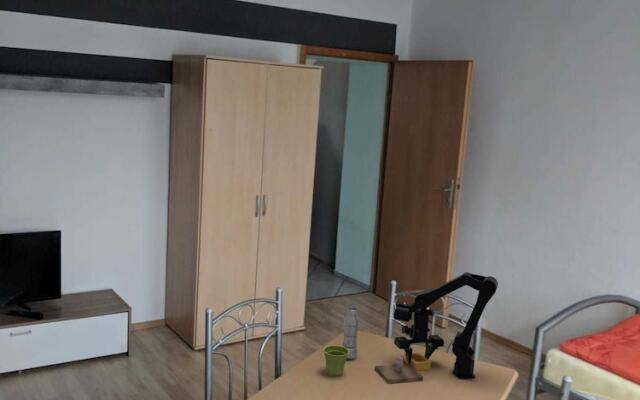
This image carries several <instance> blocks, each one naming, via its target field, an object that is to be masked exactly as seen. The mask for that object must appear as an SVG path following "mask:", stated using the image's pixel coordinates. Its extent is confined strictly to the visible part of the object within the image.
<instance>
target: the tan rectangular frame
mask: <svg viewBox="0 0 640 400" xmlns="http://www.w3.org/2000/svg"><path fill="white" fill-rule="evenodd" d="M403 362H404V363H405V364H408V361H407V357H406V353H405V354H404V359H403ZM431 363H432V362H431V361H430V360H429V359H427V358H425V355H423V354H422V353H421V352H414V353H413V352H412V358H411V362H410V365H411V366H412V367H413V368H414V369H415V370H416V371H417V372H418V371H431Z"/></svg>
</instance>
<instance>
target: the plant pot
mask: <svg viewBox="0 0 640 400" xmlns="http://www.w3.org/2000/svg"><path fill="white" fill-rule="evenodd" d="M323 353H324V357H325V358H324V359H325V368H326V370H325V371H326V373H327V374H328V375H329V376H335V377H338V376H342V375H343V374H344V370H345V366H346V361H347V359H346V358H347V356H348V354H349V350H348V349H347V348H345V347H342V345H327V346H325V347H324V348H323Z"/></svg>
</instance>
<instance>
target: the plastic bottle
mask: <svg viewBox="0 0 640 400" xmlns="http://www.w3.org/2000/svg"><path fill="white" fill-rule="evenodd" d="M357 315H358V308H357V307H354V306H350V307H347V314H346V315H345V317H344V319H343V324H342V325H343V338H342V345H341V346H342V347H345V348H347V349H348V350H349V354H348V356H347V358H346V360H354V359H355V358H356V357H357V356H358V334H359V328H360V324H361V323H360V322H361V321H360V318H359V316H357Z"/></svg>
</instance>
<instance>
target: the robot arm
mask: <svg viewBox="0 0 640 400" xmlns="http://www.w3.org/2000/svg"><path fill="white" fill-rule="evenodd" d="M464 286H466V287H467V286H468V287H470V288H471V289H474V290H475V291H478V295H477V299H476V302H475V304H474V306H473V309H472V311H471V313H470V316H469V317H468V320H467V321H466V324H465V326H464V328H463V330H462V331H461V332H460V331H459V330H458V331H457V333H456V334H455V337H454V339H453V341H452V343H451V346H452V348H451V351H452V354H453V355H454V356H455V362H454V365H453V370H452V371H451V372H452V374H454V375H455V376H456V377H457V378H458V379H462V380H463V379H464V380H466V379H473V378H476V375H475V374H474V370H475V369H474V368H475V359H474V357H475V354H476V351H475V350H474V349H473V348H472V346H471V343H472V338H473V335H474V331H475V330H476V328H477V326H478V323H479V321H480V319H481V316H482V315H483V312H484V310H485V308H486V306H487V305H488V303H489V302H490V300H491V299H492V298H493V296H494V295H495V293H496V291H497V289H498V287H499V283H498V280H497V279H496V278H495V277H494V276H491V275H490V276H489V275H488V276H484V275H481V274H474V273H470V272H467V271H466V272H463V273H462V274H460V275H458V276H457V277H455V278H452V279H451V280H449V281H446V282H445V283H443V284H441V285H439V286H437V287H434V288H428V289H427V288H426V289H425V290H422V291H420V292H419V293H418V294H417V295H416V296H415V298H414V301H413V302H412V303H411V304H408V303H407V304H406V303H403V302H397V303H396V305H395V306H396V307H395V309H394V313H393V320H395V321H400V322H405V323H410V321H413V323H412V324H411V326H410V327H409V325H408V324H407V325H406V324H405V325H404V324H403V325H402V326H401V334H405V336H407V337H409V338H410V339H408V338H407V337H405V336H396V337H395V338H394V340H393V341H394V343H393V344H394V345H395V346H396V348H398V349H399V350H404V353H405V354H406V357H407V361H408V363H409V364H410V362H411V358H412V353H413V351H414V350H413V348H412V345H424V347H425V350H424V357H425V358H427V359H428V360H429V359H430V357H431V356H432V355H433V354H434V352H435V351H436V350H438V349H439V348H442V347H443V348H444V346H445V339H443V338H442V337H441V336H440V335H438V334H430V335H429V333H430V332H431V329H430V327H429V326H430V325H429V323H430V316H431V317H434V316H435V315H436V311H435V310H434V309H433V308H432V307H430V306H431V305H433V304H434V303H436V301H438V300H439V299H440V298H443V297H445V296H447V295H450V293H452V292H455V291H457V290H459V289H461V288H463V287H464ZM429 307H430V308H429ZM428 308H429V309H428Z"/></svg>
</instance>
